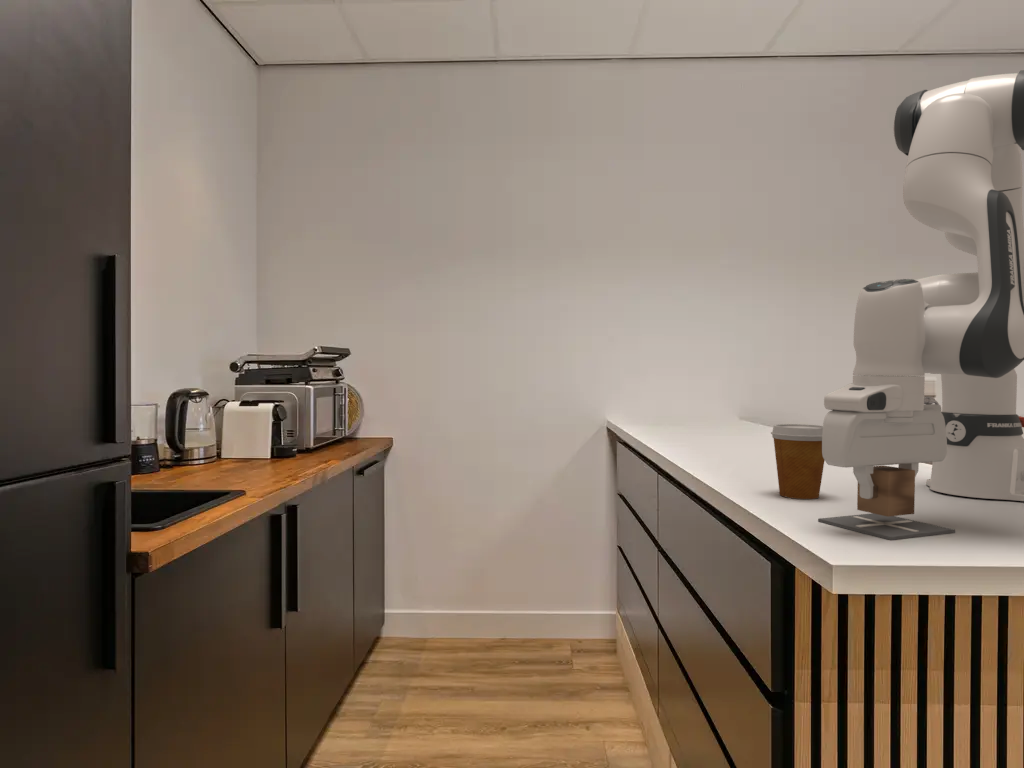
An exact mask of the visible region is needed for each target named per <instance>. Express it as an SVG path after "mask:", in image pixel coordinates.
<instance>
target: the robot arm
mask: <svg viewBox="0 0 1024 768" xmlns="http://www.w3.org/2000/svg"><path fill="white" fill-rule="evenodd" d="M892 128H893V136H894V141H895V144H896V147H897V149H898V150H899V151H900V152H901V153H903V154H904V155H905V156H907V160H906V167H905V171H904V178H903V185H902V199H903V204H904V206H905V208H906V210H907V211H908V213H909V214H910V215H911V216H912V217H913V218H914V220H916V221H918V222H919V223H921V224H923V225H925V226H926V227H929V228H932V229H933V230H937V231H941V232H944V234H945V238H946V240H947V242H948V244H950V245H951V246H952V247H953V248H956V249H958V250H959V251H962V252H965V253H967V254H970V255H973V256H976V257H977V258H976V259H977V272H976V271H975V272H962V273H959V272H958V273H946V274H945V273H943V274H941V273H940V274H935V275H931V276H927V277H925V276H924V277H922V278H916V279H913V278H911V279H909V278H907V279H906V278H903V279H894V280H893V279H892V280H887V281H876V282H872V283H869V284H867V285H866V286H864V287H862V288H861V289H860V292H859V295H858V298H857V302H856V307H855V313H854V323H853V347H854V352H855V355H856V356H855V358H856V359H855V360H856V361H855V365H854V368H853V371H852V372H853V373H852V383H848V384H846V385H844V386H843V387H840V388H838V389H836V390H833V391H831V392H829V393H826V395H824V399H823V405H824V408H825V409H826V410H828V412H827V413H826V415H825V416H824V419H823V423H822V426H823V432H822V455H823V458H824V460H825V461H824V463H826V465H828V466H832V467H839V468H852V470H853V471H852V474H853V475H854V478H855V479H856V480H857V484H858V483H859V484H860V497H861V498H865V499H873V498H877V497H878V493H877V492H878V486H876V485H874V484H873V482H872V479H871V476H870V474H873V466H890V465H891V466H893V465H894V466H895V465H898V467H897V468H904V469H910V470H915V478H916V477H917V475H918V474H919V473H918V472H919V467H920V466H919V464H924V463H925V464H926V463H932V464H931V473H930V478H927V479H926V480H925V485H926V486H928V487H929V490H931V491H935V492H936V493H937V492H938V493H943V494H947V495H953V496H959V497H967V498H975V499H976V498H977V499H987V500H988V499H990V500H1006V501H1018V502H1019V501H1020V502H1024V437H1023V436H1022V435H1024V432H1023V428H1024V416H1021V415H1020V416H1019V415H1018V414H1017V392H1018V389H1017V387H1018V374H1017V371H1016V368H1017V367H1018V366H1019V365H1020V364H1021V363H1022V362H1024V221H1023V220H1024V219H1023V164H1022V163H1023V162H1022V154H1021V150H1022V151H1024V70H1020V71H1019V72H1016V73H1014V72H1013V73H1012V72H1011V73H1002V74H1001V73H1000V74H993V75H984V76H978V77H971V78H969V80H963V81H960V82H959V81H958V82H954V83H951V84H946V85H943V86H940V87H936V88H933V89H930V90H928V89H923V90H920V91H917V92H914V93H912V94H910V95H908V96H906V97H905V98H904V99H903V100H902V101H901V102H900V104H899V105H898V107H896V111H895V115H894V119H893V127H892ZM925 374H930V375H931V374H932V375H940V379H941V392H942V393H941V394H942V395H941V399H942V400H941V401H942V402H941V404H940V403H939V402H938V401H937V400H936V398H934V397H933V396H929V395H928V396H925V379H926V377H925V376H926V375H925ZM829 410H830V411H829Z"/></svg>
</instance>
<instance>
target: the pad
mask: <svg viewBox="0 0 1024 768" xmlns="http://www.w3.org/2000/svg"><path fill="white" fill-rule="evenodd" d="M817 522H818V523H823V524H827V525H831V526H834V527H838V528H841V529H842V528H843V529H846V530H851V531H854V532H858V533H862V534H866V535H870V536H872V537H873V536H874V537H876V538H882V539H884V540H889V541H896V540H903V539H911V538H912V539H913V538H919V537H920V538H921V537H928V536H936V535H944V534H945V535H946V534H954V533H956V529H954V528H950V527H945V526H941V525H935V524H932V523H927V522H923V521H918V520H914V519H909V518H905V517H901V516H889V517H888V516H883V515H879V514H874V513H863V514H853V515H843V516H842V515H841V516H840V515H839V516H832V517H820V518H818V519H817Z"/></svg>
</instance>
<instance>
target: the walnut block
mask: <svg viewBox="0 0 1024 768" xmlns="http://www.w3.org/2000/svg"><path fill="white" fill-rule="evenodd" d="M870 476H871V479H872V482H873V484H874V485H876V486H878V492H877V493H878V497H877V498H873V499H865V498H861V497H860V484H859V483H858V482H857V494H856V495H857V501H856V505H857V506H856V507H857V508H856V510H857V511H861V512H866V513H868V514H871V513H874V514H879V515H883V516H888V517H889V516H896V517H900V516H907V515H914V514H915V502H916V501H915V500H916V499H915V497H916V495H915V494H916V493H915V491H916V490H915V489H916V477H915V470H910V469H904V468H898V467H895V466H890V465H878V466H873V474H870Z"/></svg>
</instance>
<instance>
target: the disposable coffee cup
mask: <svg viewBox="0 0 1024 768" xmlns="http://www.w3.org/2000/svg"><path fill="white" fill-rule="evenodd" d="M822 432H823V425H818V424H817V425H816V424H814V425H813V424H798V423H797V424H796V423H795V424H794V423H793V424H792V423H790V424H789V423H785V424H783V423H782V424H780V423H779V424H774V425H773V428H772V431H770V434H771V435H772V436H771V437H772V438H773V445H774V453H775V463H776V472H777V482H778V490H779V495H780V496H781V497H784V498H789V499H797V500H815V499H818V498H820V493H821V486H822V479H823V472H824V467H825V460H824V458H823V455H822Z"/></svg>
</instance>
